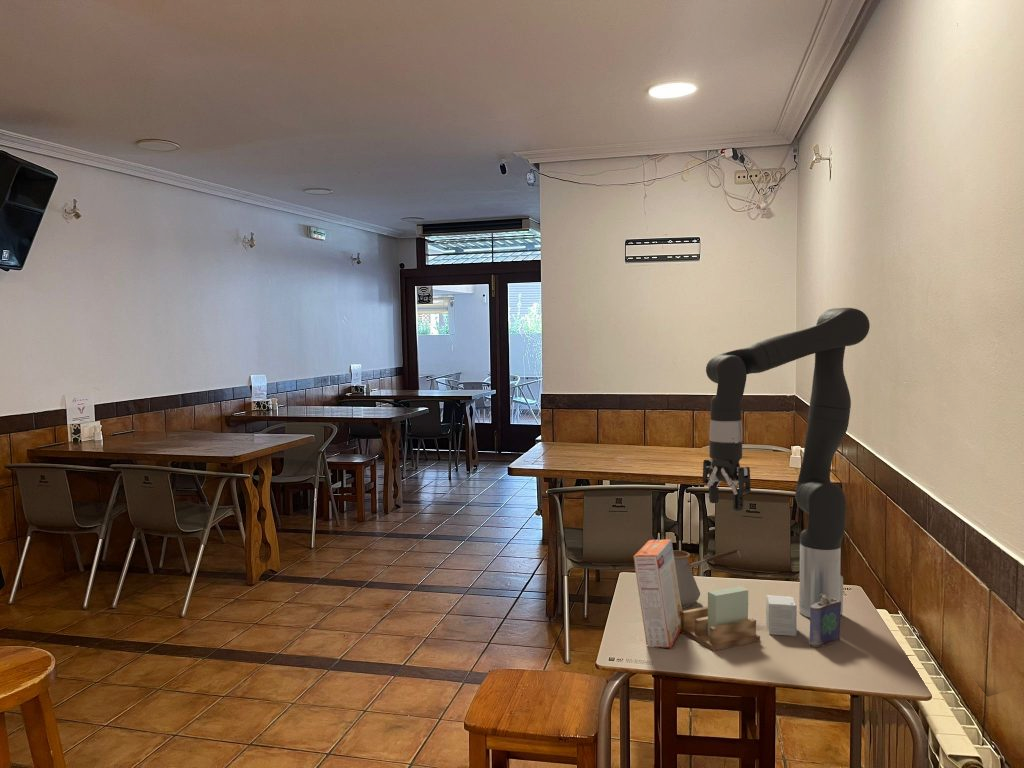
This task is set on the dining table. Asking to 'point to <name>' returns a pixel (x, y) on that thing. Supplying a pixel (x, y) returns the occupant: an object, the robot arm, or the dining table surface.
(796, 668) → the dining table surface
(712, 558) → the coffee pot
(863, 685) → the dining table surface
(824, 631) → the flask
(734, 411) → the robot arm
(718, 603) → the sage green tall prism
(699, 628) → the rack
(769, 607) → the product box
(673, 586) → the cracker box
